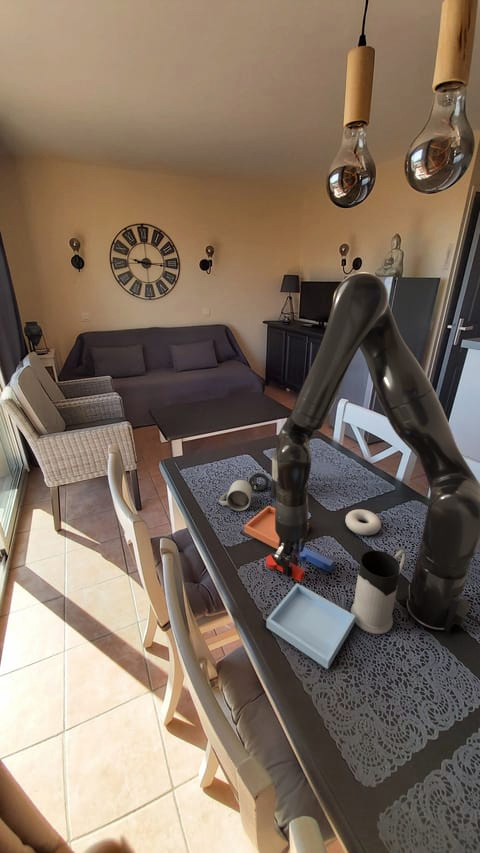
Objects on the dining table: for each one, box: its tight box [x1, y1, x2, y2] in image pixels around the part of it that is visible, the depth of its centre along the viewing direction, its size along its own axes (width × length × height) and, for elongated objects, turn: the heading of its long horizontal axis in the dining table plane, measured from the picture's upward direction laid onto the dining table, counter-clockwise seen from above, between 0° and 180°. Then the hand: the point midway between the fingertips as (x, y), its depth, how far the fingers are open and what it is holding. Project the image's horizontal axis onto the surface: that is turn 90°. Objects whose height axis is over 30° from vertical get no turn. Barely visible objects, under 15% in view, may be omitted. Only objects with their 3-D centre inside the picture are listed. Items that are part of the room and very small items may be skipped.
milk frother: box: [247, 449, 278, 498], centre depth 123 cm, size 14×16×15 cm
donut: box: [344, 508, 382, 536], centre depth 106 cm, size 10×4×10 cm
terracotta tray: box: [243, 505, 310, 550], centre depth 105 cm, size 14×12×2 cm
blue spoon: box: [298, 546, 335, 573], centre depth 94 cm, size 10×4×2 cm, turn 51°
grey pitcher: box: [350, 549, 407, 635], centre depth 78 cm, size 9×14×15 cm, turn 126°
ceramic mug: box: [218, 479, 253, 512], centre depth 117 cm, size 11×8×8 cm
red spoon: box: [265, 554, 306, 582], centre depth 90 cm, size 10×4×2 cm, turn 51°
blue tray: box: [266, 582, 356, 670], centre depth 77 cm, size 14×12×2 cm
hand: (290, 571), depth 89 cm, fingers closed on red spoon, 2 cm apart
